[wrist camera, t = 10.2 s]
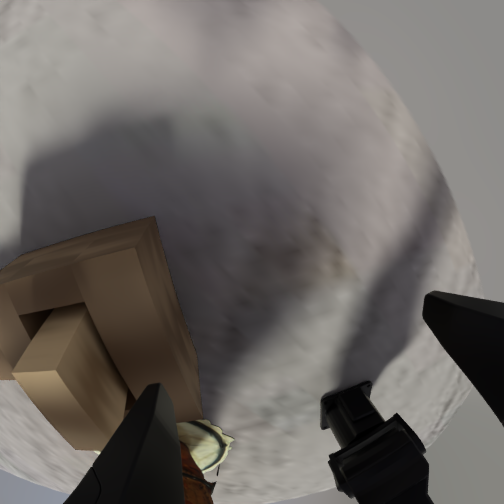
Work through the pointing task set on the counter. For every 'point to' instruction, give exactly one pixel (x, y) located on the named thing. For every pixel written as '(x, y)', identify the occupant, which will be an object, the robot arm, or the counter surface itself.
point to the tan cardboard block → (73, 378)
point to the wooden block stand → (108, 308)
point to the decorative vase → (200, 457)
